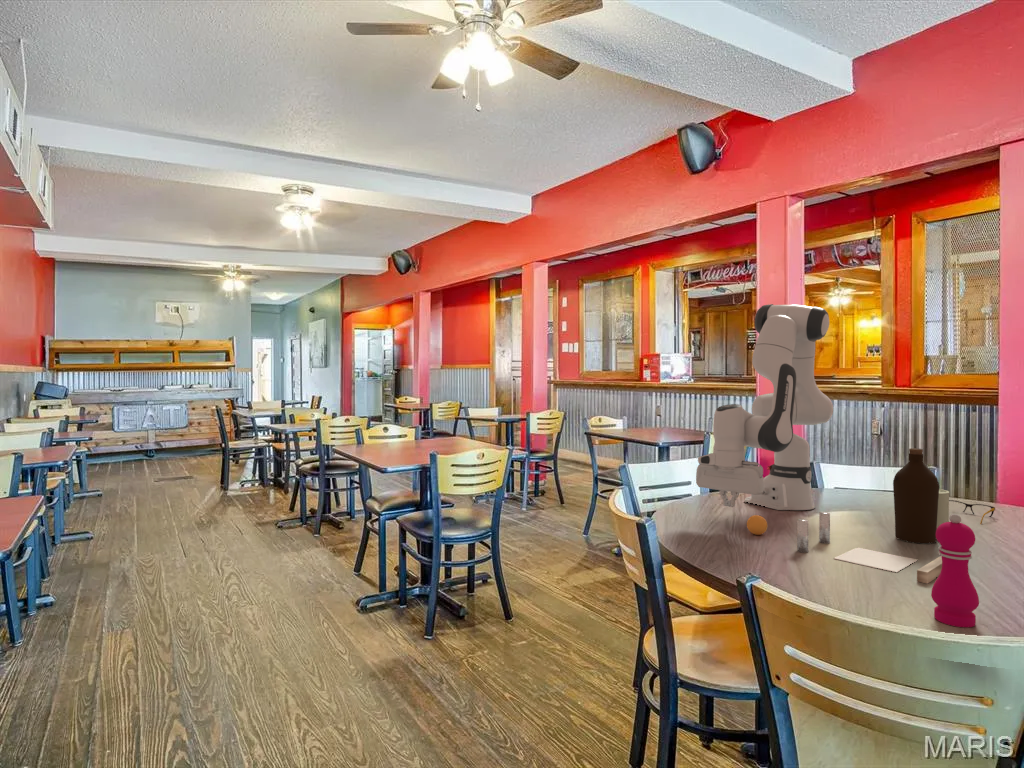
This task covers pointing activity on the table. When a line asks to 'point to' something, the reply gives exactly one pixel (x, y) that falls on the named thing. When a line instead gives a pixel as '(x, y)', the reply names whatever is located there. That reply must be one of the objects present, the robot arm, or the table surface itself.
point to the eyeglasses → (977, 504)
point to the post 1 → (802, 535)
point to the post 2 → (824, 527)
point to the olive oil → (916, 500)
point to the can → (943, 507)
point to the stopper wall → (930, 571)
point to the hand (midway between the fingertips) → (729, 506)
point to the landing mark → (876, 559)
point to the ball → (757, 524)
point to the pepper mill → (955, 575)
